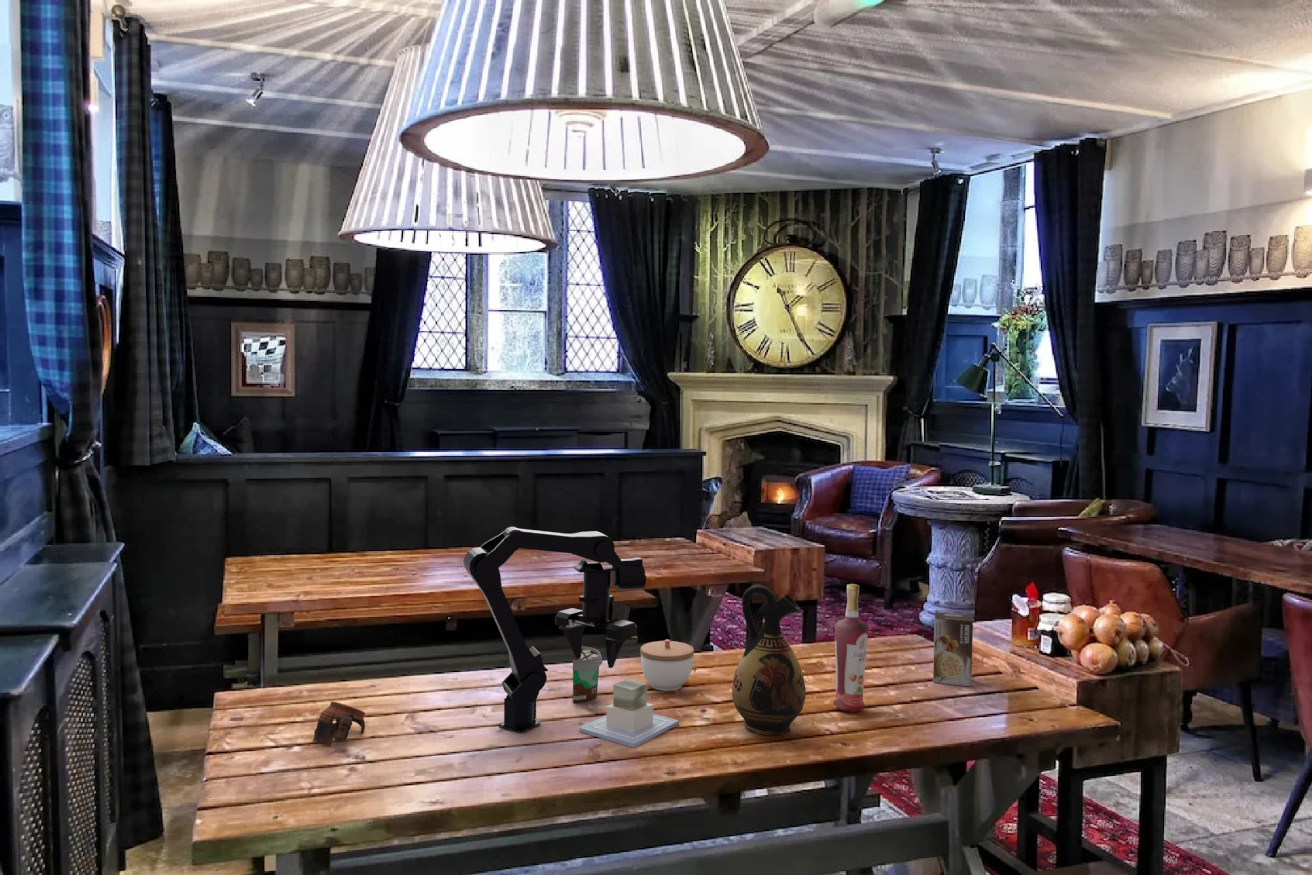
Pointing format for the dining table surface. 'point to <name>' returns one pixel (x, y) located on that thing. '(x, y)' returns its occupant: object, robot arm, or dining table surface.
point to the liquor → (850, 655)
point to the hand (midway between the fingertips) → (594, 663)
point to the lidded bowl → (666, 664)
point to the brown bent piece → (337, 723)
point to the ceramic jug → (768, 669)
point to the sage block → (630, 695)
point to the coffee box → (953, 649)
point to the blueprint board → (627, 740)
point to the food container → (586, 675)
